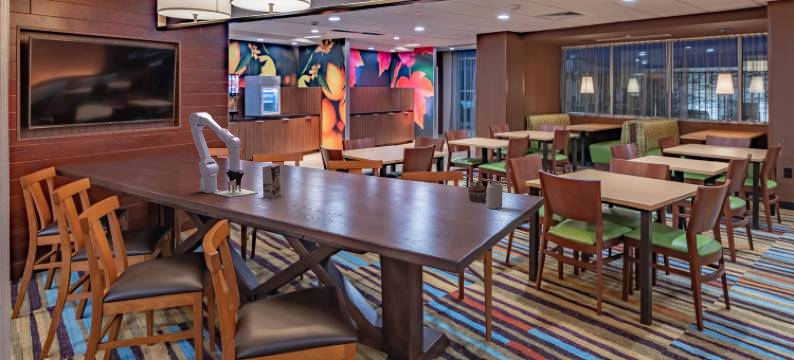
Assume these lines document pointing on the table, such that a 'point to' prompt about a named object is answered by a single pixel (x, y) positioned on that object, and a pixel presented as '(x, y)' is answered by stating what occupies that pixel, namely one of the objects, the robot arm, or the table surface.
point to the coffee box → (271, 181)
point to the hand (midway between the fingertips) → (235, 184)
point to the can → (494, 196)
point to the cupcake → (477, 192)
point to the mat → (235, 193)
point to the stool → (233, 186)
